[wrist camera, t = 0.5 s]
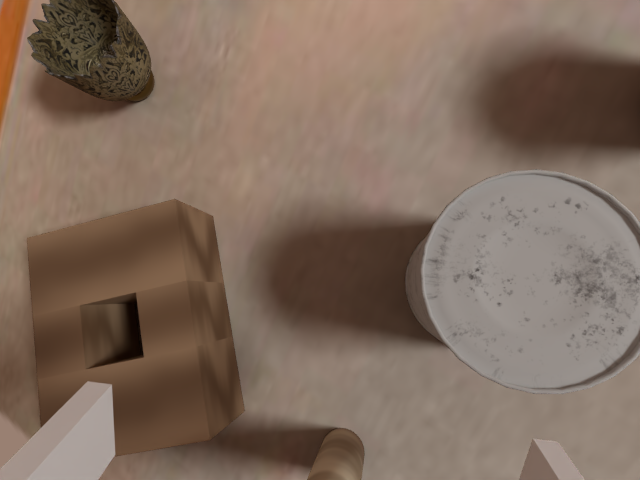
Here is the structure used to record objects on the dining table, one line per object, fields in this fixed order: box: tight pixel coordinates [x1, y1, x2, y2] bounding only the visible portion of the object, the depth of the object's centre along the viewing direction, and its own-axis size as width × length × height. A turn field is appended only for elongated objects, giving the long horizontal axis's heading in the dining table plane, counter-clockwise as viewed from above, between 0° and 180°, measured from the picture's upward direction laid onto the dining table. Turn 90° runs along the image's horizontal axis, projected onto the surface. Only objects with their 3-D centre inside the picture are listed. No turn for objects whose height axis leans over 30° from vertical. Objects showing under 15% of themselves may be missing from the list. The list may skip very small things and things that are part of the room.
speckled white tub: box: [405, 169, 640, 394], centre depth 22 cm, size 10×10×12 cm
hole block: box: [27, 199, 245, 456], centre depth 29 cm, size 16×12×6 cm
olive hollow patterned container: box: [27, 0, 155, 101], centre depth 31 cm, size 8×7×8 cm
